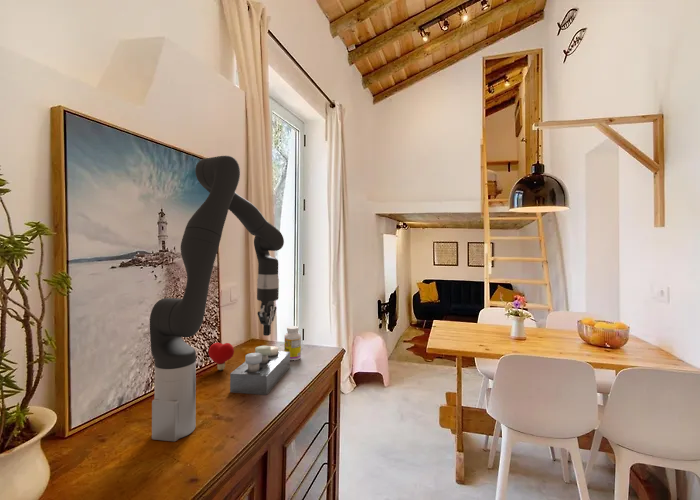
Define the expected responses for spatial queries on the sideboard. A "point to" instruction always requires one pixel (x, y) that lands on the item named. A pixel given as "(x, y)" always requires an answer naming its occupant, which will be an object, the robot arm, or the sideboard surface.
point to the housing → (260, 375)
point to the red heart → (221, 353)
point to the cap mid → (263, 353)
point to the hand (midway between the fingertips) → (267, 334)
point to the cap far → (273, 351)
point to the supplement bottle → (293, 342)
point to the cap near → (253, 361)
